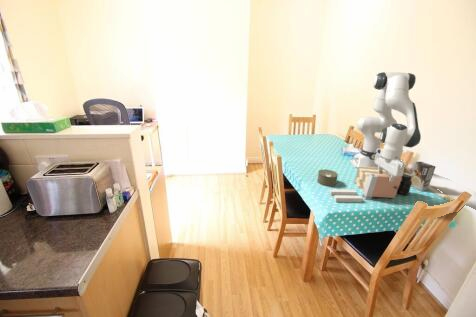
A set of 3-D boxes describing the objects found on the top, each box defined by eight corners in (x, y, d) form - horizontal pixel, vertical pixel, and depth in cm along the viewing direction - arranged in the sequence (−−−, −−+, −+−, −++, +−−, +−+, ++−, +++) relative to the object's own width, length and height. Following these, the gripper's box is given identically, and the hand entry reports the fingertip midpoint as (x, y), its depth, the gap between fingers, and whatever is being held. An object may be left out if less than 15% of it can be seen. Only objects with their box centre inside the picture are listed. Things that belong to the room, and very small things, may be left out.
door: (363, 193, 134) (369, 173, 130) (391, 195, 135) (398, 175, 130) (366, 197, 130) (373, 177, 126) (396, 199, 131) (403, 178, 126)
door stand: (328, 193, 138) (329, 189, 137) (353, 193, 138) (354, 189, 137) (335, 201, 129) (336, 198, 128) (361, 202, 129) (362, 198, 128)
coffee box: (428, 189, 144) (436, 166, 138) (421, 191, 142) (429, 167, 136) (413, 183, 152) (420, 161, 146) (406, 184, 150) (414, 162, 144)
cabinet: (349, 183, 150) (353, 166, 146) (375, 183, 150) (379, 167, 146) (365, 199, 132) (369, 180, 127) (395, 199, 132) (400, 181, 128)
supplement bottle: (395, 189, 144) (400, 172, 140) (408, 192, 140) (414, 175, 136) (394, 193, 139) (399, 175, 135) (407, 197, 135) (413, 179, 131)
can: (335, 179, 155) (336, 170, 153) (337, 187, 144) (339, 178, 142) (316, 177, 158) (318, 168, 156) (317, 185, 147) (318, 175, 145)
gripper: (410, 161, 114) (403, 185, 119) (385, 148, 133) (380, 169, 138) (398, 161, 114) (391, 185, 119) (375, 148, 133) (369, 169, 138)
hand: (385, 177), depth 129 cm, fingers open, 8 cm apart
